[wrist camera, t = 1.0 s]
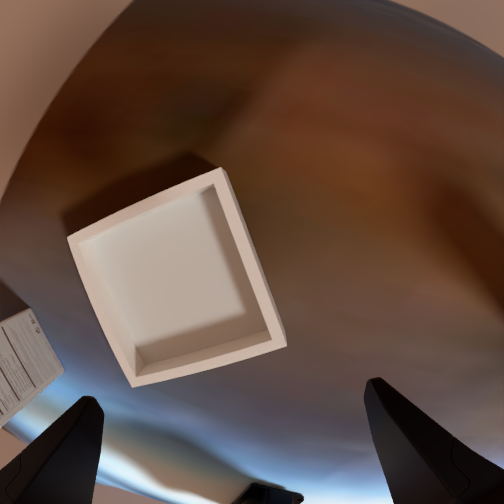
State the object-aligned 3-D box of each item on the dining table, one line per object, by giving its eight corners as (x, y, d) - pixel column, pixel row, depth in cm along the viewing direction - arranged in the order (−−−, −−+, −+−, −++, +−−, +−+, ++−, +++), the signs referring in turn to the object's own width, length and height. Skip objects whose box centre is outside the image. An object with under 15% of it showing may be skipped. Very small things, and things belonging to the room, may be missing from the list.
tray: (284, 330, 24) (287, 345, 21) (144, 370, 25) (132, 387, 22) (226, 172, 22) (220, 167, 20) (86, 234, 24) (66, 237, 21)
